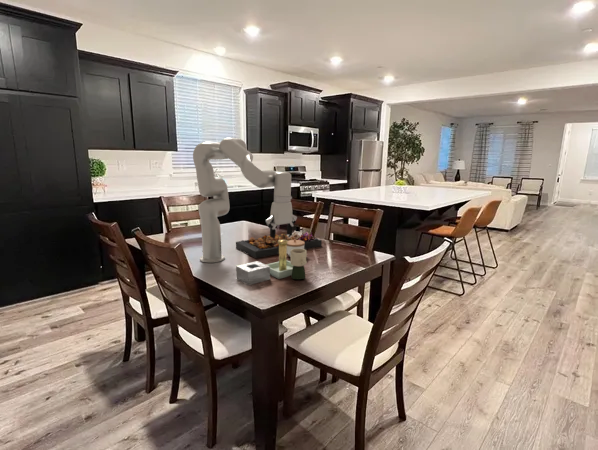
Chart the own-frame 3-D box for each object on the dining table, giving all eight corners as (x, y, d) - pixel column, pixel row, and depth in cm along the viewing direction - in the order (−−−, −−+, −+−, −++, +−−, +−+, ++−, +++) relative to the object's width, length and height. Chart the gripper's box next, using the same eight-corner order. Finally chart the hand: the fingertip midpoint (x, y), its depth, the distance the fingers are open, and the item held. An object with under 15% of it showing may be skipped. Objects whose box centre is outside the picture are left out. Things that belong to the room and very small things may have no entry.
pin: (275, 269, 163) (275, 240, 160) (283, 267, 165) (283, 239, 163) (281, 272, 159) (281, 242, 156) (289, 270, 162) (289, 241, 159)
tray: (262, 271, 163) (262, 265, 163) (285, 265, 172) (285, 259, 171) (279, 278, 153) (278, 272, 153) (302, 272, 162) (302, 266, 162)
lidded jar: (300, 259, 182) (300, 242, 180) (281, 257, 185) (281, 240, 183) (307, 254, 191) (307, 238, 190) (289, 252, 195) (289, 236, 193)
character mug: (311, 281, 151) (311, 252, 148) (296, 283, 148) (296, 254, 145) (300, 273, 160) (300, 246, 158) (286, 275, 157) (286, 248, 155)
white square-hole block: (236, 278, 153) (236, 265, 152) (257, 273, 160) (257, 261, 159) (248, 285, 146) (248, 271, 144) (270, 279, 153) (270, 266, 152)
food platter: (298, 238, 229) (298, 223, 227) (321, 247, 209) (321, 230, 207) (236, 249, 203) (235, 232, 201) (255, 259, 184) (255, 240, 182)
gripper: (291, 197, 164) (290, 232, 168) (261, 199, 153) (261, 236, 157) (302, 199, 158) (300, 235, 162) (271, 201, 147) (270, 240, 151)
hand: (281, 236), depth 159 cm, fingers open, 9 cm apart
